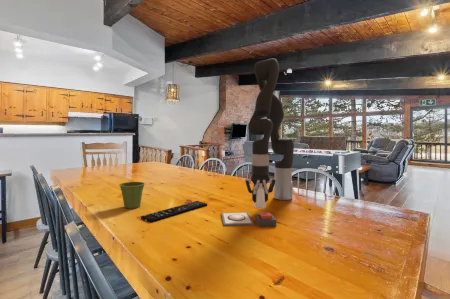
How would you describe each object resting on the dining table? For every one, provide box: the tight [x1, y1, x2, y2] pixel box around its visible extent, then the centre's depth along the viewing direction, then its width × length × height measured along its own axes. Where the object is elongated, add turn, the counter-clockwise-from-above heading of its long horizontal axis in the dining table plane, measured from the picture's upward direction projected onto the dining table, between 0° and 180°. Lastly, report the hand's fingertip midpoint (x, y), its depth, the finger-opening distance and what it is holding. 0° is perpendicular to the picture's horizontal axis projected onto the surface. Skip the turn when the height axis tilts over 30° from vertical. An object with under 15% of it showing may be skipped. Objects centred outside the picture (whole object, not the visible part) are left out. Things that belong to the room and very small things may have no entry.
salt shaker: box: [253, 183, 267, 209], centre depth 113 cm, size 5×5×11 cm
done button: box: [258, 211, 273, 219], centre depth 101 cm, size 4×4×2 cm
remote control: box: [140, 200, 208, 224], centre depth 115 cm, size 8×32×2 cm, turn 139°
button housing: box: [254, 213, 277, 228], centre depth 102 cm, size 7×7×2 cm
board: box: [220, 211, 255, 227], centre depth 106 cm, size 12×14×1 cm
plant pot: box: [118, 181, 146, 209], centre depth 122 cm, size 12×12×11 cm
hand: (260, 201), depth 113 cm, fingers closed on salt shaker, 4 cm apart
